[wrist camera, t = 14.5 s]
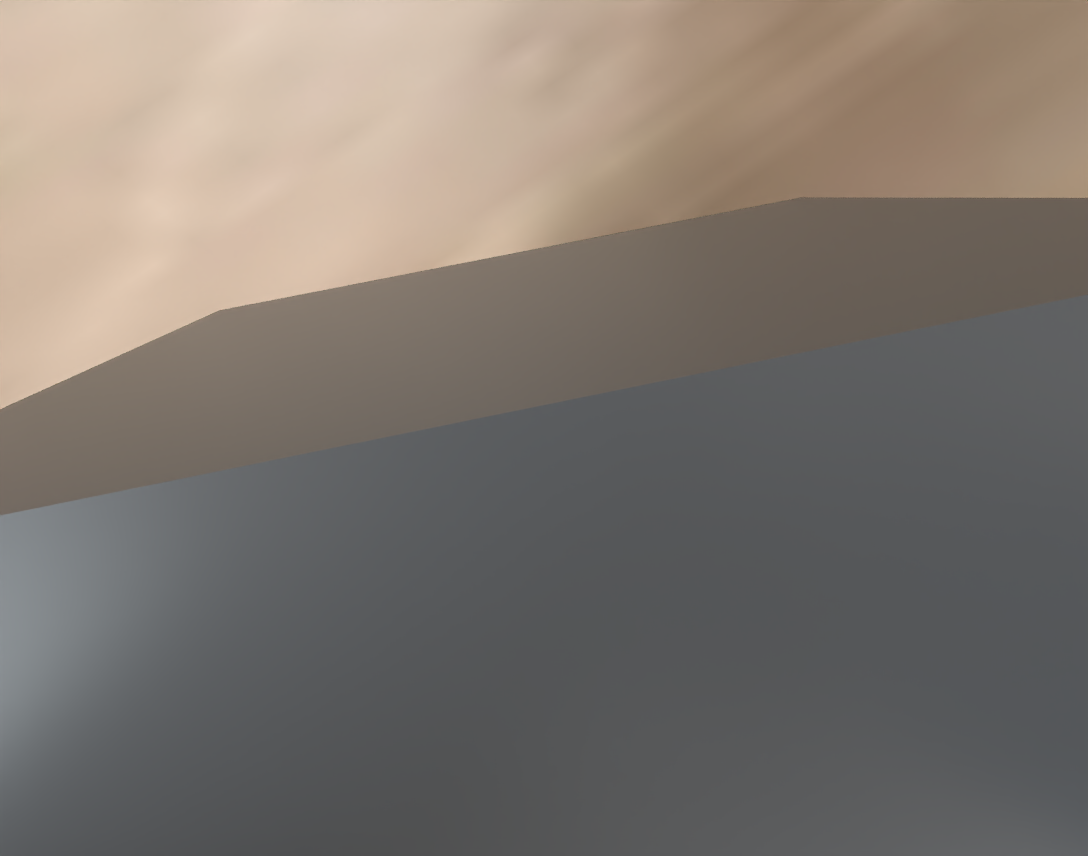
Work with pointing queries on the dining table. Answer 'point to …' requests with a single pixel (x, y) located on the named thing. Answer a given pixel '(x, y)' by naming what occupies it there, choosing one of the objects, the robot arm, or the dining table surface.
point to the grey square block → (575, 555)
